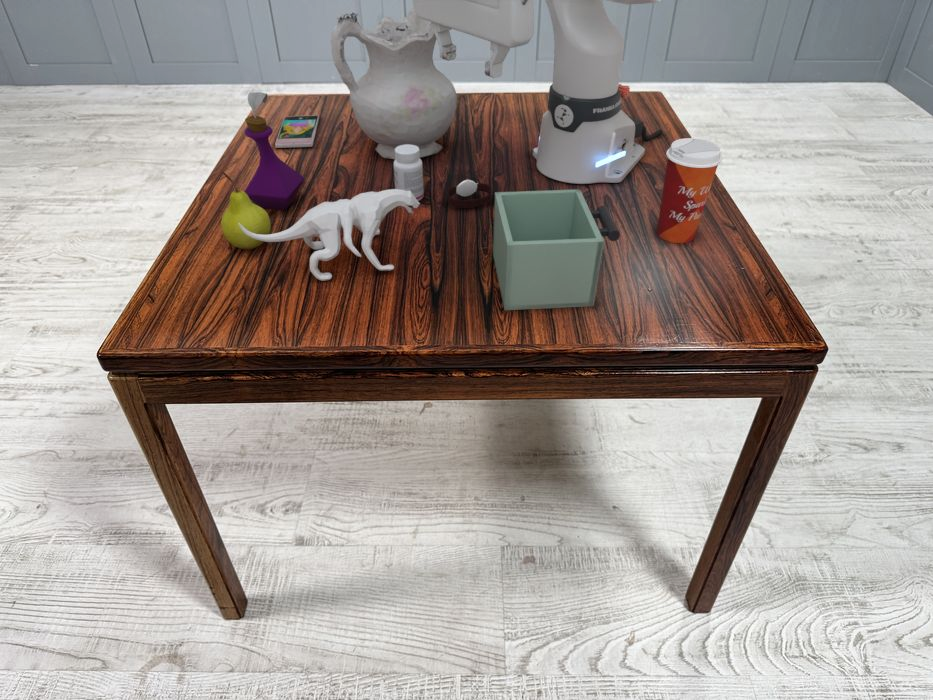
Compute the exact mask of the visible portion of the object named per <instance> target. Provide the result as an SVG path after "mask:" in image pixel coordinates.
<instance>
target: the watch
mask: <svg viewBox="0 0 933 700" xmlns="http://www.w3.org/2000/svg"><path fill="white" fill-rule="evenodd" d="M475 192H484V193H487V195H486V196H483V197H481V198H474V199H473V198H472V199H466V200H464V199H463V200H462V199H456V198H453V197H451V196H454V195H459V196H461V197H469V196H472V195H473V194H474V193H475ZM492 193H493V188H492V186H491V185H490V184H488V183H483V182H481V183H479V182H475V181H474V180H471V179H469V178H467V179H465V180H463V181H461V182H460V183H458V185H455V186H452V187H450V188H448V189H447V191H446V202H447V203H448V204H449V205H450V206H452V207H454V208H458V209H474V208H476V207H479V206H483V205H486V204H487V203H489V202H490V200H491V198H492Z"/></svg>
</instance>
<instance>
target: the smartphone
mask: <svg viewBox="0 0 933 700" xmlns="http://www.w3.org/2000/svg"><path fill="white" fill-rule="evenodd" d="M319 122H320V115H318V114H317V115H315V114H314V115H285V116H284V118H283V120H282V123H281V125H280V128H279V131H278V134H277V137H276V140H275V143H274V147H275V148H276V149H278V148H279V149H280V148H281V149H284V148H285V149H286V148H312V147H314V143H315V139H316V135H317V129H318V125H319Z"/></svg>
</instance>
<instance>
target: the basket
mask: <svg viewBox="0 0 933 700" xmlns="http://www.w3.org/2000/svg"><path fill="white" fill-rule="evenodd" d="M493 203H494V205H493V206H494V207H493V238H492V239H493V240H492V241H493V242H492V256H493V257H492V258H493V262H494V266H495V272H496V276H497V281H498V287H499V290H500V291H499V292H500V296H501V300H502V305H503V310H504V311H520V310H542V309H561V308H563V309H564V308H584V307H585V308H586V307H595V301H596V295H597V289H598V282H599V275H600V270H601V269H600V268H601V264H602V257H603V252H604V251H603V250H604V244H605V240H604V237H607V239H608V240H609V241H611V242H616V241H618V240H619V239H620V237H621V232H620V229H618V226H617V224H616V222H615V220H614V219H613V217H612V216H613V215H611V212H610V211H609V208H608V207H607V206H606V205H599V206H598V207H597V208H596V210H590V208H589V205H588V204H587V201H586V199H585V197H584V194H583V191H582V190H581V189H578V188H577V189H575V188H574V189H553V190H525V191H520V190H519V191H495V192H494V202H493ZM595 219H598V220H599V222H600V224H601V226H602V228H601V227H600V228H599V227H598V225H597V223H596V220H595Z"/></svg>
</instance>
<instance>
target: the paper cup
mask: <svg viewBox="0 0 933 700" xmlns="http://www.w3.org/2000/svg"><path fill="white" fill-rule="evenodd" d="M721 153H722V152H721V149H720V147H719V146H718V145H717V144H716V143H714V142H711V141H709V140H706V139H702V138H695V137H685V138H679V139H676V140H674V141H672V143H671V144H670V147H669V148H668V149H667V150H666V153H665V155H666V157H667V160H666V168H665V173H664V181H663V186H662V194H661V199H660V206H659V207H660V208H659V215H658V222H657V235H658V237H660V238H661V239H663V240H664V241H666V242H669V243H673V244H686V243H687V244H688V243H689V242H691V241H693V239H694V238H695V235H696V232H697V229H698V227H699V224H700V221H701V218H702V215H703V212H704V210H705V209H704V208H705V206H706V203H707V200H708V196H709V194H710V191H711V188H712V184H713V183H714V179H715V175H716V172H717V169H718V166H719V165H720V164H721V163H722V162H723V161H722V160H723V157H722V155H721Z"/></svg>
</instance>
